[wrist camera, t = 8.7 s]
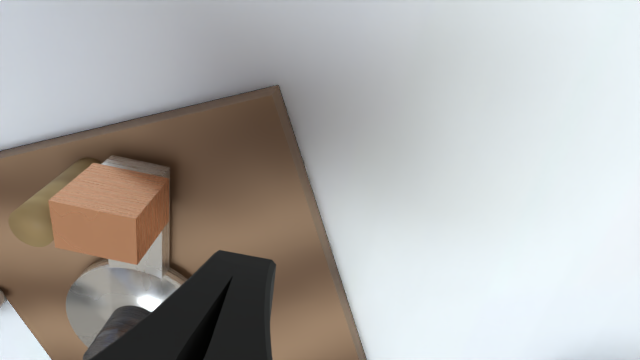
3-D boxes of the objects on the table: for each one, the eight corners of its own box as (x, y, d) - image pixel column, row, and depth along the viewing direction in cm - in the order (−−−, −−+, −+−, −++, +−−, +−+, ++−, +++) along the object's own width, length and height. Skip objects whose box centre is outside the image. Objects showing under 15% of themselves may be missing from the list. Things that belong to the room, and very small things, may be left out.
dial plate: (211, 375, 25) (186, 442, 22) (81, 347, 25) (38, 409, 22) (226, 178, 19) (194, 231, 16) (55, 143, 19) (-10, 188, 16)
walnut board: (-61, 165, 22) (-175, 228, 18) (278, 85, 18) (242, 140, 14) (99, 391, 29) (46, 478, 25) (369, 369, 25) (365, 467, 21)
